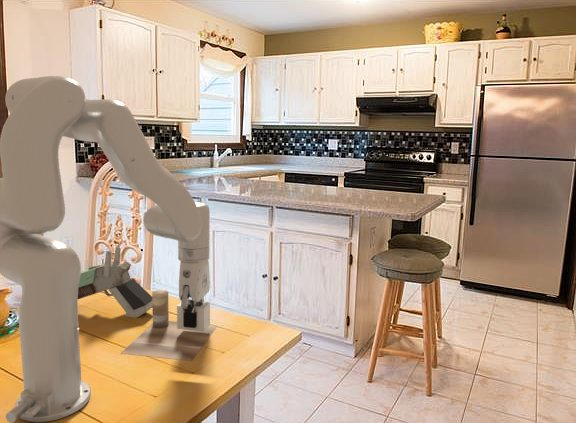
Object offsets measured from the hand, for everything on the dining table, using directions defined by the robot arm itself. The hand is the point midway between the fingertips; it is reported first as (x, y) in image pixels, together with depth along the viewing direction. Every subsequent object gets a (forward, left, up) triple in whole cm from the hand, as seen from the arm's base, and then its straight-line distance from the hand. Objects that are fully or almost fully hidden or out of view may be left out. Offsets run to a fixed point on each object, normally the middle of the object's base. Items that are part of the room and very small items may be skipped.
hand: (193, 322), depth 112 cm
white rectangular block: (0, 0, -1) cm, 1 cm away
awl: (+2, +10, -3) cm, 11 cm away
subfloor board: (-4, +4, -4) cm, 7 cm away
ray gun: (+8, +32, -4) cm, 33 cm away
